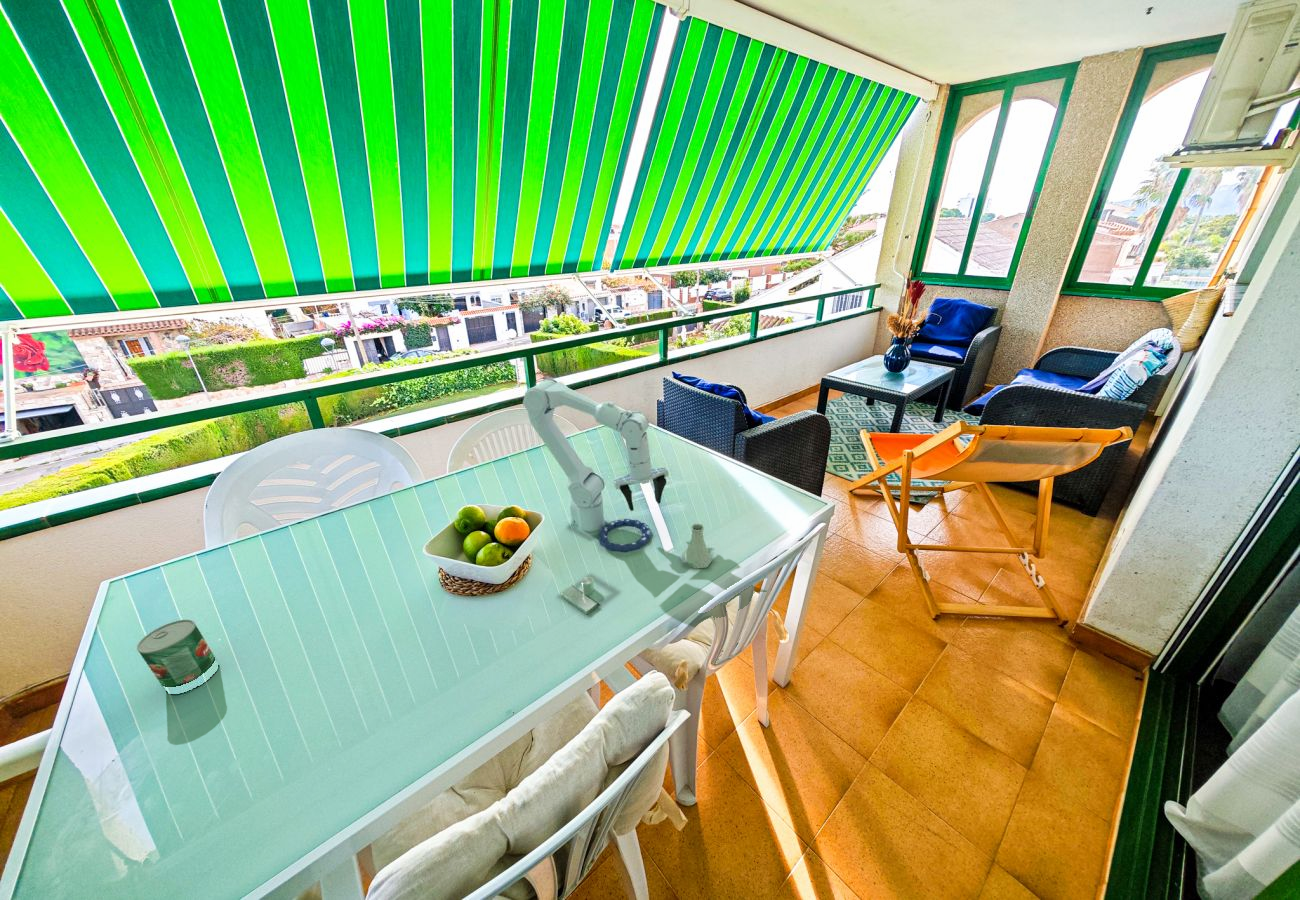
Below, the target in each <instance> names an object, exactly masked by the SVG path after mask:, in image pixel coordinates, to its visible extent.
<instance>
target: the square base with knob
mask: <svg viewBox="0 0 1300 900" xmlns="http://www.w3.org/2000/svg"><path fill="white" fill-rule="evenodd" d="M594 586H595V585H594V579H593V577H591V576H585V577H583V578H582V579H581V589H582V590H580V589H578V588H576V587H575V586H574V585H571V586H570V587H568V588H566V589H565V590H564V591H563V592H561V593H560V598H562V599H564V600H565V601H566V602H568V603H569V604H571V605H572V606H573V607H575V608H576V609H578V610H579V611H581V612H582V613H583V614H585V615H586V616H587V615H589V614H590V613H591V612H593V611H594V610H595V609H597V608H598V607H600V606H601V603H599V602H598V601H596V600H594V598H592V597H590V596H589V595H592V594H593V593H594V592H595V587H594Z"/></svg>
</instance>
